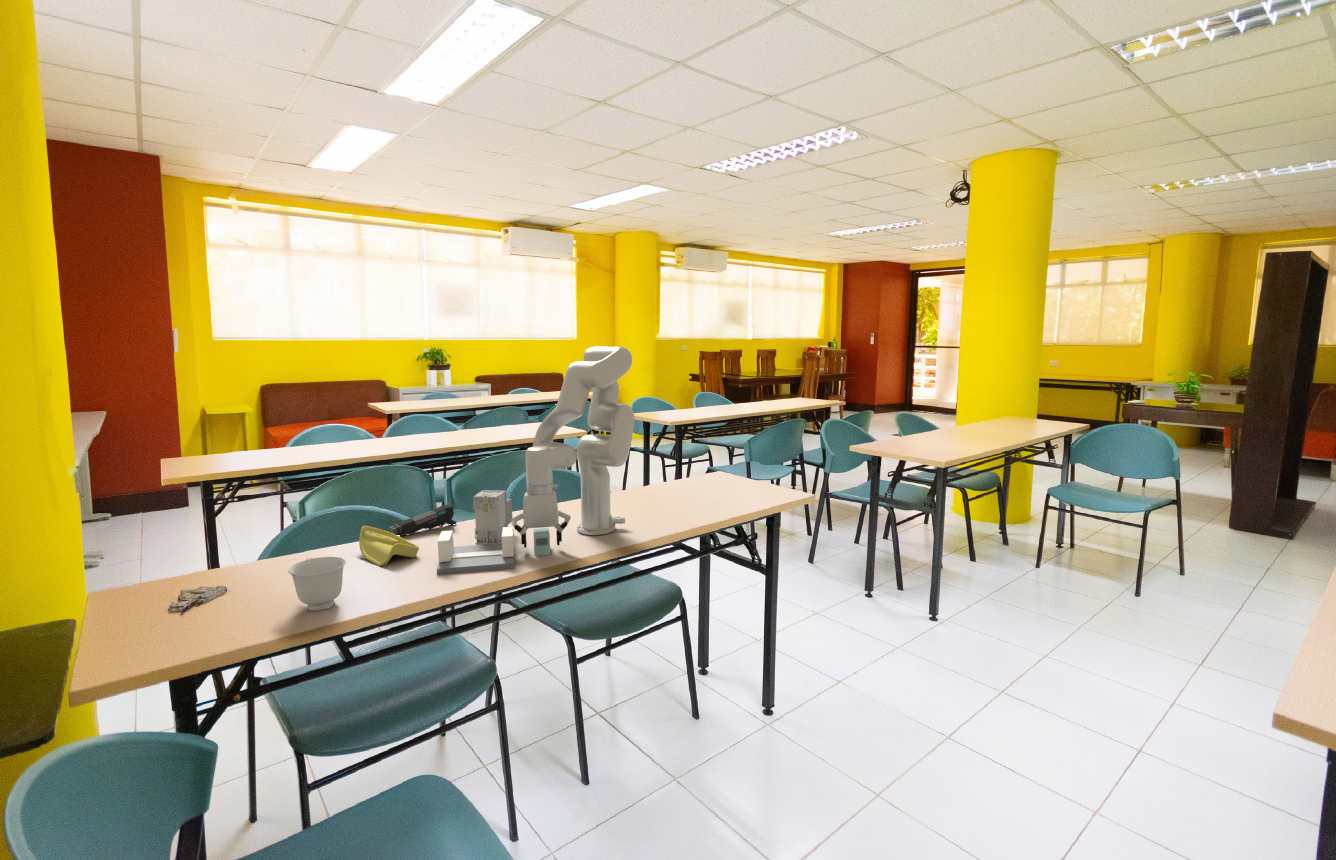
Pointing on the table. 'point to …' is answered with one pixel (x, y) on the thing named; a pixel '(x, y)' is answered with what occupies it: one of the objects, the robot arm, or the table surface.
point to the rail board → (475, 554)
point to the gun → (425, 521)
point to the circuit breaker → (491, 515)
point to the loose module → (541, 541)
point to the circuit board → (196, 597)
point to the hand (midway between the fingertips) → (541, 545)
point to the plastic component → (384, 545)
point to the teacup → (318, 581)
